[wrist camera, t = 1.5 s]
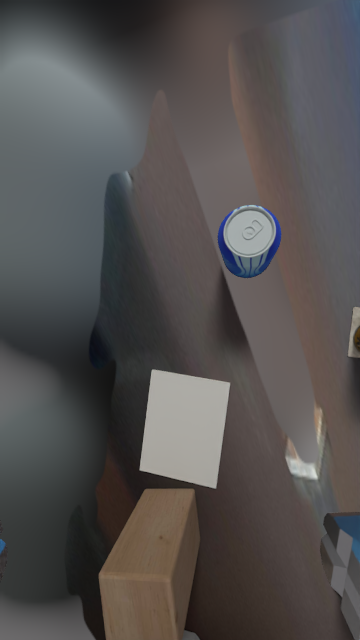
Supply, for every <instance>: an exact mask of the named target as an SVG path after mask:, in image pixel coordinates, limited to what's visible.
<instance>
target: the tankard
mask: <svg viewBox="0 0 360 640" xmlns="http://www.w3.org/2000/svg"><path fill="white" fill-rule="evenodd" d="M182 640H200V639H199V638H198V636H197V635H196V634H195V633H193V632H189V631H185V630H184V633H183V638H182Z"/></svg>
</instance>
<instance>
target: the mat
mask: <svg viewBox="0 0 360 640" xmlns="http://www.w3.org/2000/svg"><path fill="white" fill-rule="evenodd" d="M229 389H230V383H229V382H223V381H217V380H211V379H205V378H199V377H194V376H188V375H182V374H176V373H170V372H165V371H159V370H153V369H152V373H151V382H150V390H149V398H148V406H147V414H146V422H145V431H144V439H143V447H142V455H141V463H140V470H141V471H145V472H149V473H153V474H157V475H161V476H166V477H170V478H174V479H178V480H182V481H186V482H190V483H195V484H199V485H203V486H207V487H211V488H215V489H216V485H217V477H218V470H219V462H220V455H221V448H222V440H223V433H224V426H225V418H226V411H227V403H228V396H229Z"/></svg>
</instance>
